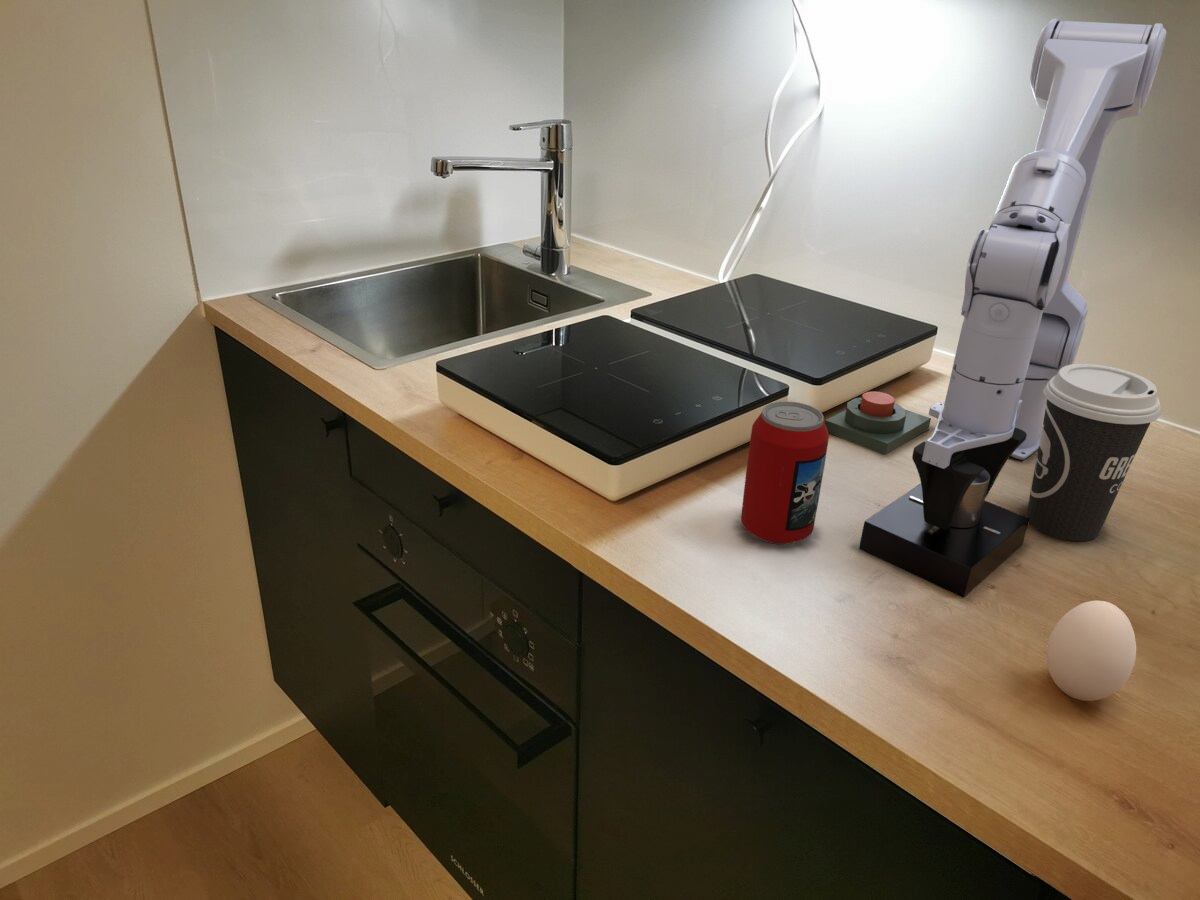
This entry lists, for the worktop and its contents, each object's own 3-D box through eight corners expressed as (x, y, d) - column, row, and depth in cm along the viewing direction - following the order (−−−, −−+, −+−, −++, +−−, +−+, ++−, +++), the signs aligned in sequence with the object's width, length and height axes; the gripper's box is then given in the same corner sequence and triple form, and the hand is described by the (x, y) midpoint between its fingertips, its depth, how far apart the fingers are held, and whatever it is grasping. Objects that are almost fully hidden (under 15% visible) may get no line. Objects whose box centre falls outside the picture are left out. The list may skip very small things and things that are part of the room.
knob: (987, 516, 82) (999, 469, 80) (965, 533, 80) (977, 486, 77) (941, 497, 85) (952, 452, 83) (919, 514, 82) (929, 467, 80)
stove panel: (922, 504, 90) (928, 476, 89) (1022, 545, 84) (1030, 516, 82) (858, 549, 82) (864, 519, 81) (963, 598, 76) (971, 567, 75)
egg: (1129, 696, 66) (1164, 608, 63) (1099, 731, 63) (1134, 641, 59) (1054, 658, 70) (1083, 572, 66) (1022, 690, 66) (1050, 602, 63)
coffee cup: (1066, 559, 82) (1115, 408, 75) (988, 508, 90) (1025, 367, 83) (1140, 539, 86) (1193, 393, 79) (1058, 491, 93) (1100, 355, 87)
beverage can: (812, 554, 81) (833, 434, 76) (737, 544, 82) (751, 425, 77) (812, 516, 87) (831, 402, 82) (741, 507, 88) (755, 394, 83)
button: (870, 402, 106) (872, 388, 105) (898, 412, 103) (901, 398, 103) (853, 410, 103) (856, 396, 103) (882, 421, 101) (884, 406, 100)
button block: (868, 407, 111) (872, 384, 110) (928, 429, 106) (934, 405, 105) (823, 430, 104) (826, 407, 103) (885, 455, 100) (890, 430, 98)
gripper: (980, 339, 83) (949, 469, 89) (902, 379, 74) (873, 521, 80) (1059, 361, 79) (1020, 496, 85) (986, 406, 69) (949, 554, 76)
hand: (954, 511), depth 82 cm, fingers open, 6 cm apart
